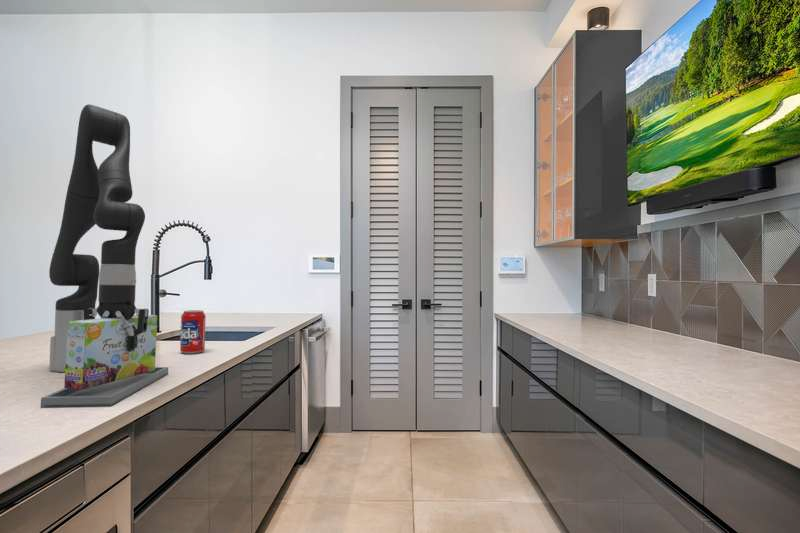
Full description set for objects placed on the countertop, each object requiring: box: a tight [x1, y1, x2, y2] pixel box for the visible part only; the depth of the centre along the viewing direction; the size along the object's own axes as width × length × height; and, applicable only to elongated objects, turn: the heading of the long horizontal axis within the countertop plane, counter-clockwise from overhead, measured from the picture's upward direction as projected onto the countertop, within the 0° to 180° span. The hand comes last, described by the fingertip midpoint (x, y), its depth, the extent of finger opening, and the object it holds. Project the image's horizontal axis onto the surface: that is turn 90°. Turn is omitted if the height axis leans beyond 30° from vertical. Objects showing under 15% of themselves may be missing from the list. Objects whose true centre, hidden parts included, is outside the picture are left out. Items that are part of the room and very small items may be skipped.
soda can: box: [179, 309, 207, 355], centre depth 153 cm, size 8×8×15 cm
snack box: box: [63, 314, 158, 390], centre depth 105 cm, size 21×6×15 cm, turn 169°
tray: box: [40, 366, 169, 408], centre depth 105 cm, size 14×30×2 cm, turn 7°
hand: (115, 350), depth 105 cm, fingers closed on snack box, 6 cm apart
